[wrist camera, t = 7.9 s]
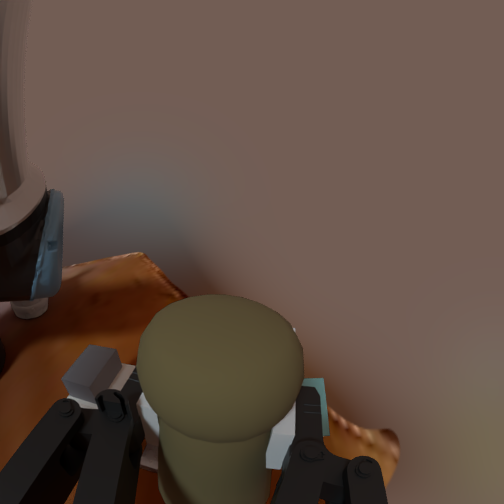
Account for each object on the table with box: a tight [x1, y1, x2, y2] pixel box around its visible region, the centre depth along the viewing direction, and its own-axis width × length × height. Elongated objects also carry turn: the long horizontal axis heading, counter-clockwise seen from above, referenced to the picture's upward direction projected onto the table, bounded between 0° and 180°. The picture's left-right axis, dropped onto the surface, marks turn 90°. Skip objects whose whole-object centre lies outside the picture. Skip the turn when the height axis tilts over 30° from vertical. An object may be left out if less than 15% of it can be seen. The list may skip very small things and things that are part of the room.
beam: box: [61, 345, 330, 436], centre depth 24 cm, size 24×7×4 cm, turn 84°
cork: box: [136, 294, 304, 504], centre depth 10 cm, size 6×6×11 cm
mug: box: [10, 297, 48, 319], centre depth 40 cm, size 8×12×12 cm, turn 174°
